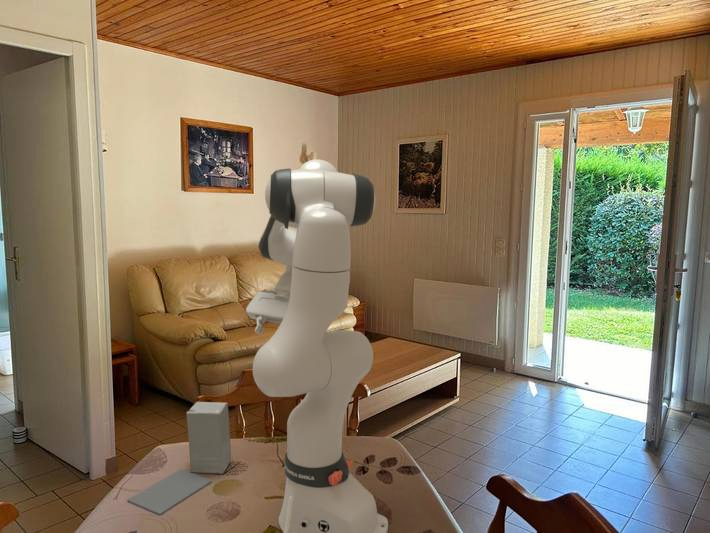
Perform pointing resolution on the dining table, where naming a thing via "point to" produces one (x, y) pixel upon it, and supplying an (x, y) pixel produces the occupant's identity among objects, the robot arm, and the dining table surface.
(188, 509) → the dining table surface
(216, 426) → the skincare box
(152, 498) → the mat
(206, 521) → the dining table surface
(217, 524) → the dining table surface
